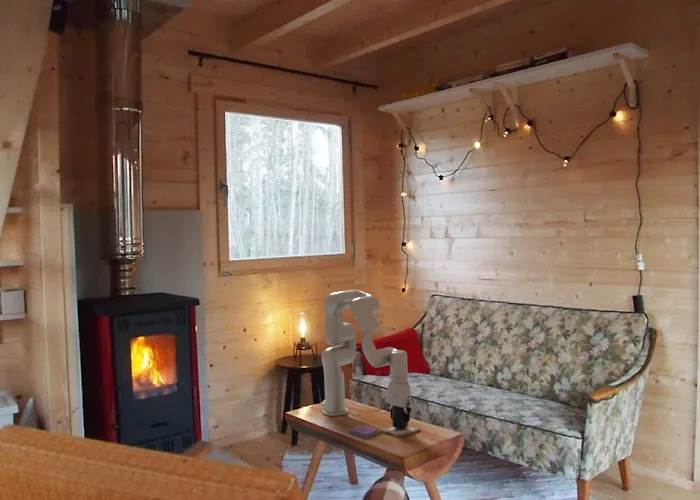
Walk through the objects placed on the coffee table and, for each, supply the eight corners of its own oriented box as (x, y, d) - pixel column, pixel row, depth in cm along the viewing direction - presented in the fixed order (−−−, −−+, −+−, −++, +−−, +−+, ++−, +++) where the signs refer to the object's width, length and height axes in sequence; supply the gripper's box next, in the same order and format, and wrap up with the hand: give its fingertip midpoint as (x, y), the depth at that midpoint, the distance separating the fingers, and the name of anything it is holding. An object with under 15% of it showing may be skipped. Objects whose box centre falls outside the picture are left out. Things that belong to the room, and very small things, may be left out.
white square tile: (381, 432, 270) (381, 429, 270) (398, 425, 279) (398, 422, 279) (403, 438, 262) (402, 435, 262) (420, 430, 270) (420, 428, 270)
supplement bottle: (407, 429, 266) (406, 401, 266) (391, 428, 268) (390, 401, 267) (409, 424, 273) (408, 397, 272) (393, 423, 274) (392, 396, 274)
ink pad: (347, 433, 270) (347, 429, 270) (361, 428, 276) (361, 424, 276) (366, 439, 262) (366, 435, 262) (380, 433, 269) (380, 429, 269)
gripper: (378, 378, 272) (379, 418, 273) (409, 384, 260) (410, 426, 261) (389, 374, 278) (390, 414, 279) (420, 380, 266) (421, 421, 267)
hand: (400, 419), depth 270 cm, fingers closed on supplement bottle, 6 cm apart
